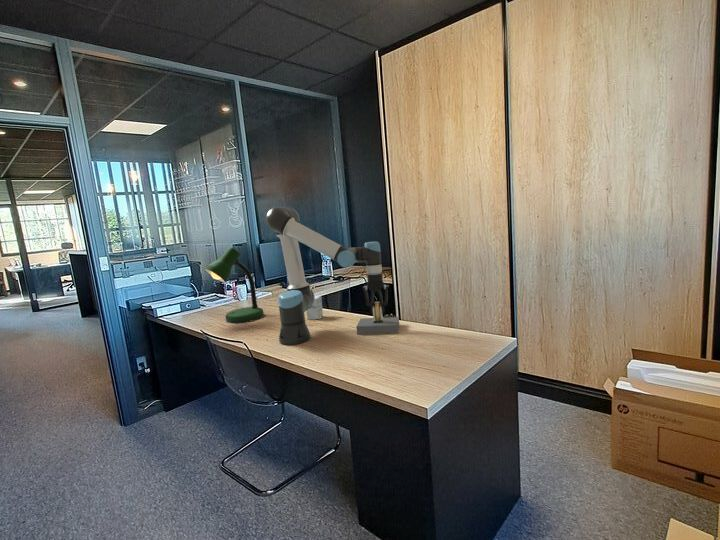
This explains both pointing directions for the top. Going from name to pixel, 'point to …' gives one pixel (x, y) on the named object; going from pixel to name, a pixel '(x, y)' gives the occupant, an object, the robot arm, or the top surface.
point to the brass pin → (377, 312)
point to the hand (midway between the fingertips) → (378, 319)
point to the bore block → (378, 326)
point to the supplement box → (315, 309)
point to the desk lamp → (222, 272)
